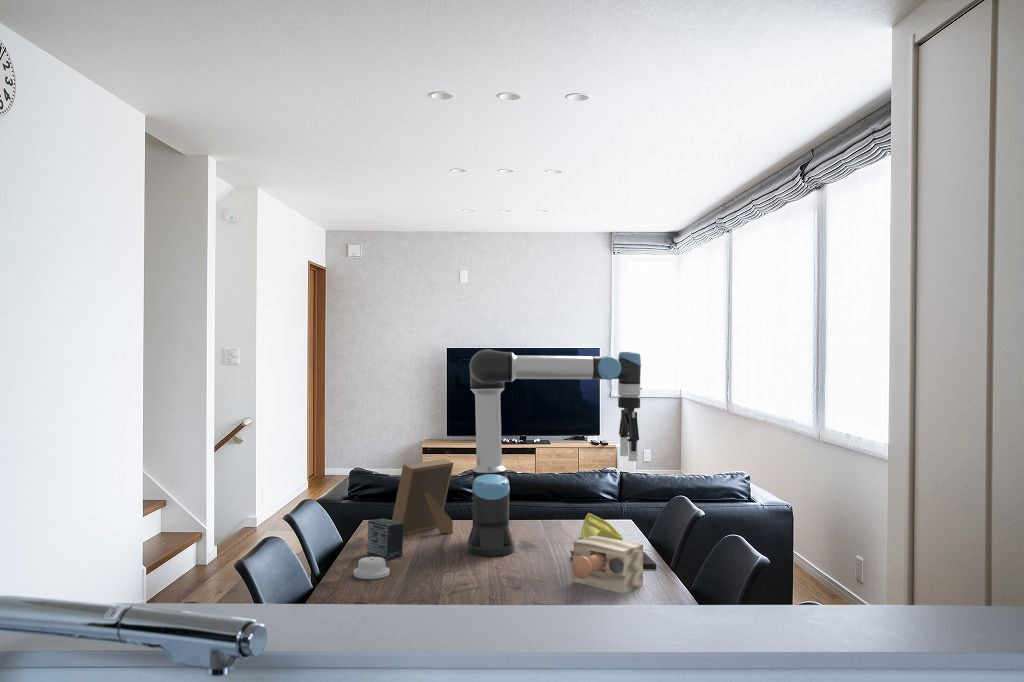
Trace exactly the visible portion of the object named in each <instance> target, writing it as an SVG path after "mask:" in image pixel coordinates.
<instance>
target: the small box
mask: <svg viewBox="0 0 1024 682" xmlns="http://www.w3.org/2000/svg"><path fill="white" fill-rule="evenodd" d="M403 540H404V536H403V523H401V522H397V521H392V519H387V518H383V517H382V518H377V519H370V520H368V521H367V552H366V553H367V555H371V556H372V557H381V558H383V559H385V561H386V560H392V559H396V558H400V557H401V558H402V557H403V551H404V549H403V548H404V546H403V544H404V541H403Z"/></svg>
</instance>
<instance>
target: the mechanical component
mask: <svg viewBox="0 0 1024 682" xmlns="http://www.w3.org/2000/svg"><path fill="white" fill-rule="evenodd" d="M357 564H358V565H357V568H355V569H354V570H353V576H354V577H355V578H358V579H362V580H377V579H382V578H386V577H388V576H389V575H390V568H389V567H387V566H386V559H383V558H381V557H376V556H368V557H362V558H360V559H359V560H358V563H357Z"/></svg>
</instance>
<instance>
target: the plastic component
mask: <svg viewBox="0 0 1024 682" xmlns="http://www.w3.org/2000/svg"><path fill="white" fill-rule="evenodd" d="M582 523H583V524H582V527H581V539H584V538H587V537H590V536H593V535H594V536H600V537H605V538H611V539H616V540H621V541H624V536H622V535H621V533H619V532H618V530H616V528H615V527H614V526H613V525H612V524H611V523H609V522H608V521H606V520H604V519H602V518H601V517H599V516H596V515H594V514H593V513H590V512H588V513H587V514H586V516H585V518H584V520H583V522H582Z"/></svg>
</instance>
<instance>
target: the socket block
mask: <svg viewBox="0 0 1024 682" xmlns="http://www.w3.org/2000/svg"><path fill="white" fill-rule="evenodd" d="M573 551H574V558H575V557H578V556H586V557H588V556H591V555H594V554H597V553H600V552H601V553H606V567H604V568H601V569H598V570H596V571H593V572H592V573H591V574H590V576H588V577H586V578H583V579H580V578H577V577H576V576H575V575H574V574H573V573H572V574H573V580H572V581H573V583H577V584H582V585H586V586H589V587H593V588H597V589H603V590H606V591H611V592H615V593H619V594H623V595H625V594H627V593H628V592H631V591H633V590H635V589H637V588H641V587H643V586H644V570H643V551H644V544H643V543H637V542H630V541H626V540H622V541H621V540H616V539H611V538H605V537H600V536H594V535H593V536H590V537H587V538H584V539H582V538H581V539H578V540H574V541H573Z"/></svg>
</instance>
